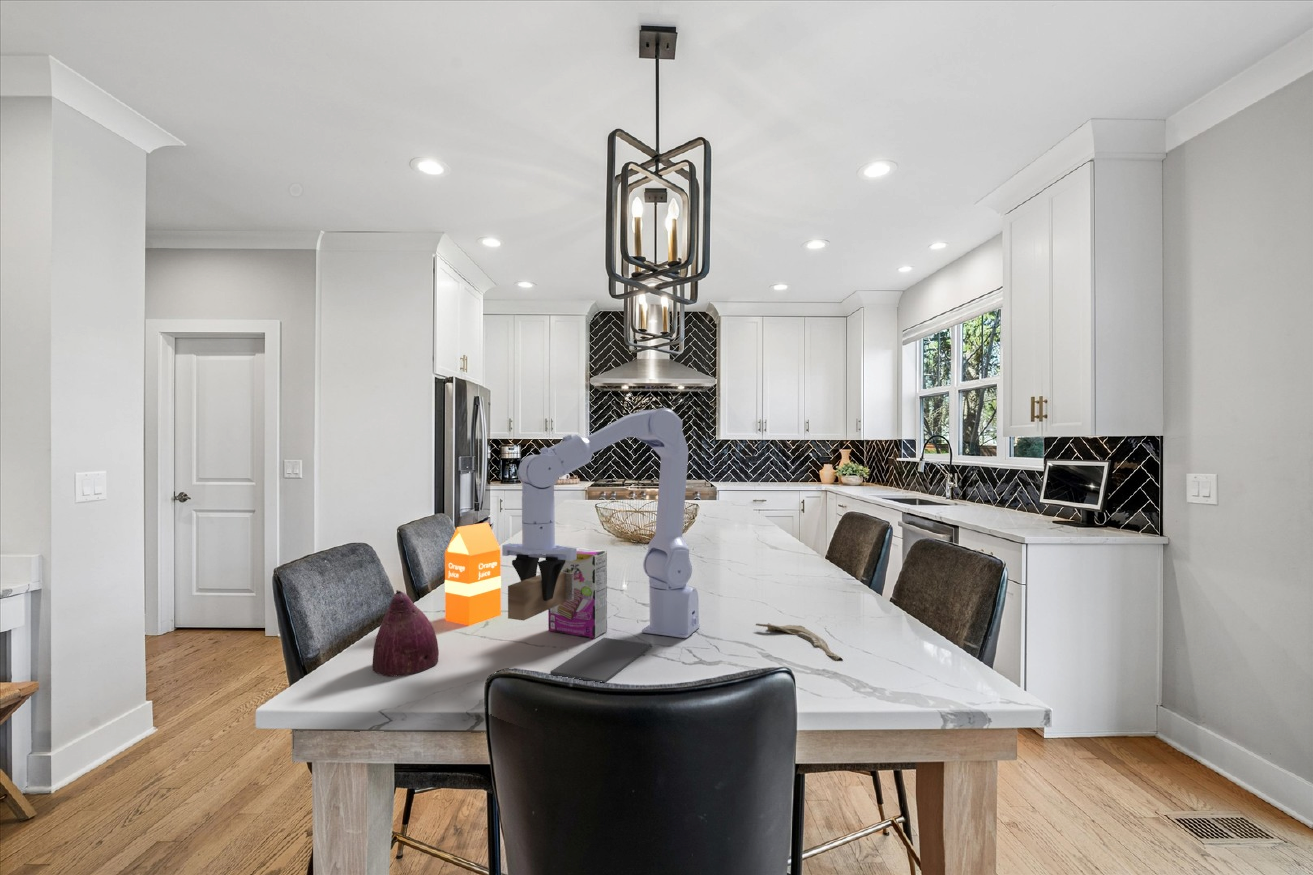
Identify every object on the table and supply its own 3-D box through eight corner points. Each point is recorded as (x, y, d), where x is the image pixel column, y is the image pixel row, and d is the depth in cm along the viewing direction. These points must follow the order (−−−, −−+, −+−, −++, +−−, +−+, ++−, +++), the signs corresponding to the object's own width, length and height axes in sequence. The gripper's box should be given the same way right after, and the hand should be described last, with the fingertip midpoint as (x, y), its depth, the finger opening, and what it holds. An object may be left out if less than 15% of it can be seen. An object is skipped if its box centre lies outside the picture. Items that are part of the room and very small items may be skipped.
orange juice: (444, 620, 127) (444, 526, 128) (477, 609, 135) (476, 521, 135) (469, 625, 123) (469, 528, 123) (501, 615, 131) (501, 523, 131)
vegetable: (415, 696, 97) (412, 614, 93) (359, 683, 99) (353, 603, 95) (451, 658, 107) (449, 582, 103) (399, 647, 109) (395, 572, 105)
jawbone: (785, 627, 124) (786, 617, 124) (872, 658, 107) (872, 647, 107) (754, 632, 118) (755, 621, 118) (839, 665, 102) (840, 653, 102)
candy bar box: (546, 632, 119) (546, 549, 119) (561, 624, 123) (560, 545, 123) (595, 639, 114) (594, 553, 114) (608, 632, 118) (607, 549, 119)
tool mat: (651, 646, 110) (651, 644, 110) (604, 683, 94) (604, 680, 94) (603, 639, 114) (603, 637, 114) (550, 673, 98) (550, 671, 98)
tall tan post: (530, 621, 99) (530, 588, 99) (501, 617, 102) (501, 585, 102) (573, 601, 112) (573, 572, 112) (546, 598, 114) (546, 569, 114)
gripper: (491, 523, 106) (491, 599, 106) (560, 527, 100) (561, 608, 100) (515, 518, 113) (516, 590, 113) (582, 521, 107) (583, 597, 107)
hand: (539, 598), depth 107 cm, fingers closed on tall tan post, 3 cm apart
